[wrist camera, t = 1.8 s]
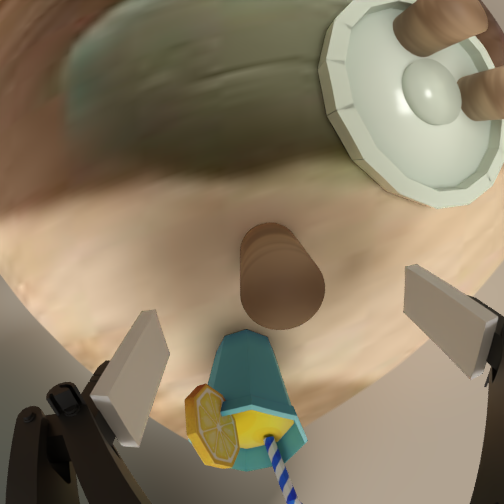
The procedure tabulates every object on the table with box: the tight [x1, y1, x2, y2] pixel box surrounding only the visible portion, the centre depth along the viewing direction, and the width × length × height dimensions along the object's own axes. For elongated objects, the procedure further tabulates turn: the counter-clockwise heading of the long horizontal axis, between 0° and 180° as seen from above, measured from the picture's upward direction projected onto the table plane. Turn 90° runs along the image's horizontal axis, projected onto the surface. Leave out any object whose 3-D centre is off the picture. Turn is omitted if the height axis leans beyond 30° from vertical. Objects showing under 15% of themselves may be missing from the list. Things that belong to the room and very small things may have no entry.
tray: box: [318, 0, 504, 209], centre depth 19 cm, size 20×20×2 cm
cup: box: [185, 329, 308, 504], centre depth 19 cm, size 14×8×15 cm, turn 42°
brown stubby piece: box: [240, 223, 325, 330], centre depth 20 cm, size 5×5×8 cm
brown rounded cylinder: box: [393, 0, 488, 57], centre depth 14 cm, size 5×5×8 cm
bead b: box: [457, 66, 504, 121], centre depth 15 cm, size 5×5×8 cm
